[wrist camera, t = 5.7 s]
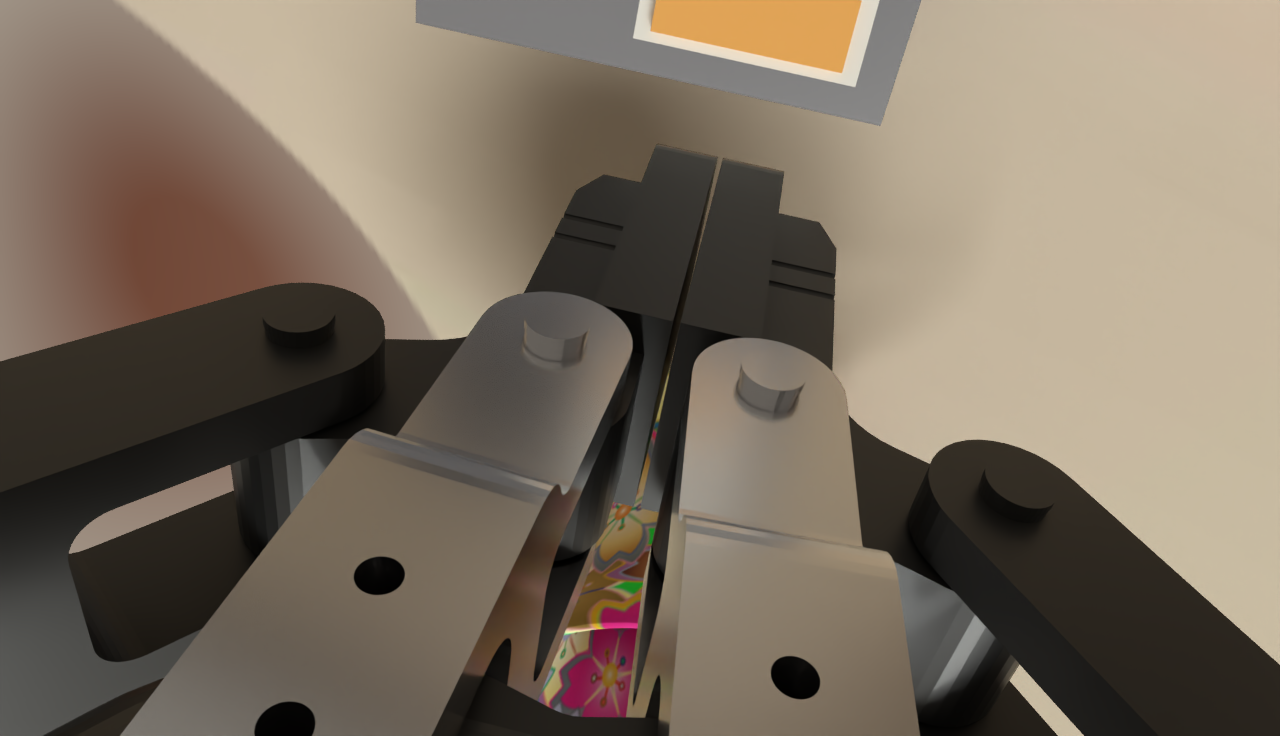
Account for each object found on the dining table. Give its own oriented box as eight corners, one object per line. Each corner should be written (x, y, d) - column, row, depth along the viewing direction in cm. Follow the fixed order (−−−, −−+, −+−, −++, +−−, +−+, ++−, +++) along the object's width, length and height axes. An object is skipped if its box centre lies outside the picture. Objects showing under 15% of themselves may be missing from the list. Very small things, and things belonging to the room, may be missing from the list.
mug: (620, 566, 36) (546, 851, 28) (535, 359, 31) (414, 629, 23) (966, 543, 32) (1002, 863, 24) (933, 305, 27) (964, 602, 19)
